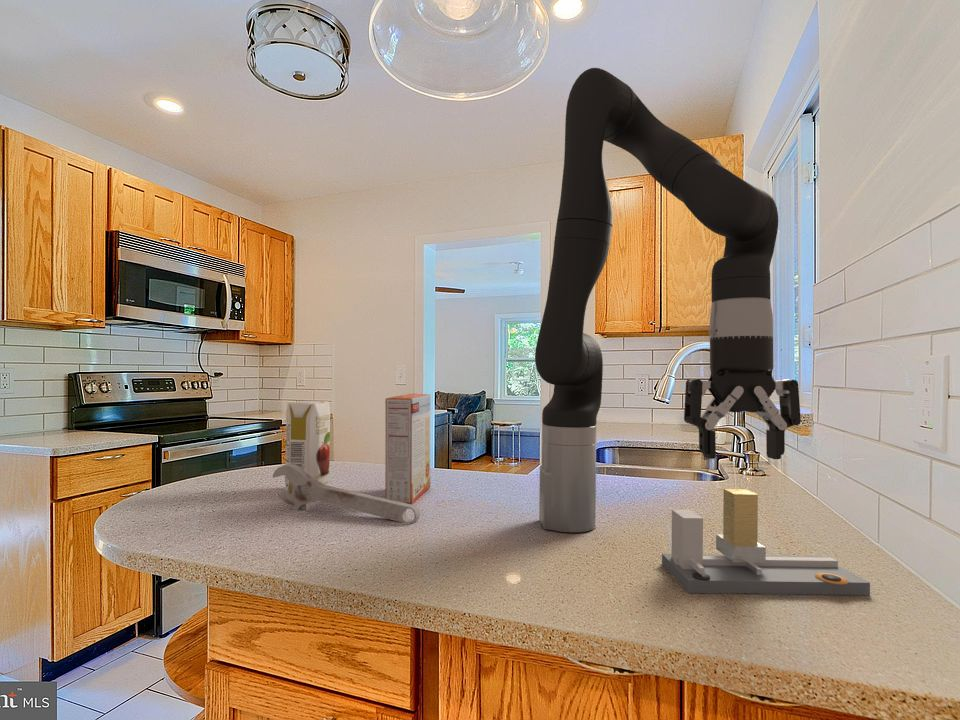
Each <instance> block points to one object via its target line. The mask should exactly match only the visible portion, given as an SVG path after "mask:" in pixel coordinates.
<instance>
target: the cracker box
mask: <svg viewBox="0 0 960 720" xmlns="http://www.w3.org/2000/svg"><path fill="white" fill-rule="evenodd" d="M384 401H385V402H384V405H385V406H384V407H385V408H384V409H385V414H384V415H385V417H384V418H385V425H384V426H385V436H384V437H385V438H384V439H385V445H384V447H385V449H384V451H385V455H384V456H385V457H384V459H385V461H384V462H385V463H384V464H385V469H384V470H385V473H384V474H385V476H384V478H385V479H384V480H385V481H384V483H385V484H384V485H385V493H384V495H385V496H384V498H385V499H389V500H394V501H398V502H402V503H407V504H412V505H414V503H415V502H416V501H417V500H418V499H419V498H420V497H421V496H423V495H424V494H425V493H426V492H427V491H428V490H429V489H430V488H431V394H428V393H427V394H426V393H425V394H424V393H423V394H422V393H407V394H401V395H396V396H390V397H387V398H385V400H384Z"/></svg>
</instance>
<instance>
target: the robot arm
mask: <svg viewBox="0 0 960 720" xmlns="http://www.w3.org/2000/svg"><path fill="white" fill-rule="evenodd" d="M566 102H567V103H566V109H565V110H566V111H565V126H564V127H565V128H564V157H563V158H564V159H563V170H562V180H561V190H560V199H559V207H558V212H557V218H556V219H557V220H556V225H555V234H554V241H553V253H552V259H551V266H550V273H549V274H550V275H549V280H548V282H549V283H548V287H547V288H548V289H547V294H546V295H547V296H546V301H545V308H544V312H543V316H542V320H541V324H540V328H539V332H538V336H537V341H536V345H535V351H534V352H535V353H534V361H535V368H536V371H537V373H538V374H539V376H540V377H541V379H542V380H543V381H545V382H546V383H548V384H550V385H553V392H552V393H553V394H552V397H551V399H550V400H549V401H548V403H547V404H546V405H545V406H544V407H543V409H542V414H541V419H542V420H541V465H539V497H538V498H539V501H538V504H539V506H538V507H539V508H538V510H539V511H538V519H539V521H540V524H541V526H542V529H543V530H550V531H551V530H552V531H556V532H563V533H585V532H589V531H592V530H594V529H595V528H596V517H597V513H596V507H597V506H596V502H597V500H596V499H597V497H596V496H597V493H596V492H597V480H596V479H597V420H598V419H597V417H598V413H599V411H600V408H601V406H602V405H601V404H602V393H603V392H602V391H603V373H604V371H603V370H604V367H603V366H604V364H603V363H604V362H603V361H604V360H603V359H604V358H603V353H602V350H601V347H600V344H599V342H597V340H596V339H595V338H594V337H592V336H591V335H589V334H587V333H584V325H585V317H586V316H585V315H586V310H587V305H588V301H589V298H590V296H591V293H592V291H593V289H594V287H595V285H596V283H597V281H598V279H599V277H600V275H601V273H602V271H603V269H604V267H605V265H606V261H607V259H608V256H609V251H610V246H611V238H612V231H613V224H614V210H613V203H612V200H611V194H610V191H609V190H610V189H609V186H608V181H607V179H606V174H605V169H604V159H603V158H604V157H603V156H604V155H603V154H604V151H603V149H604V142H607V143H609V144H611V145H613V146H616V147H617V148H620V149H622V150H623V151H626V152H628V153H629V154H630V155H632V156H633V157H634V158H635V159H636V160H638V161H639V163H640V164H641V165H642V166H643V168H644V169H645V170H646V171H647V173H648V174H649V175H650V176H651V177H652V179H654V180H655V181H656V182H657V183H658V184H659V185H660V186H662V187H663V188H664V189H665V190H667V191H668V192H669V193H670V194H671V195H672V196H673V197H675V198H676V199H677V200H679V201H680V202H682V203H683V204H684V205H685V207H686V208H687V209H688V211H689V212H691V214H692V215H693V216H694V217H695V218H696V219H697V220H698V221H699V223H701V224H702V225H703V226H704V227H706V228H707V229H708V230H709V231H711V232H712V233H715V234H717V235H718V236H722V237H724V238H725V239H724V240H725V242H724V244H725V245H724V251H723V257H722V258H719V259H718V260H716V261H715V262H714V264H713V266H712V270H711V279H710V281H711V282H710V283H711V285H710V286H711V304H710V305H711V307H710V314H709V315H710V316H709V327H708V334H709V370H710V371H709V372H710V375H709V379H708V380H701V379H699V378H688V379H687V380H686V381H685V391H684V392H685V395H684V411H683V412H684V413H683V421H684V423H686V424H688V425H691V426H694V427H696V428H697V429H698V449H699V452H700V453H701V454H702V456H703V458H706V459H709V460H715V459H716V457H717V456H716V455H717V454H716V450H717V449H716V445H717V444H716V430H714V428H715V427H716V425H718V424H719V421H721V419H722V418H725V416H726V415H727V414H728V413H741V412H747V413H756V414H757V415H758V416H759V417H760V418H761V419H762V420H763V421H764V423H765V424H766V425H767V427H768V429H765V430H766V431H765V433H766V435H765V436H766V440H765V441H766V456H767V458H769V459H772V460H781V458H782V455H784V453H785V451H786V449H785V448H786V447H785V446H786V445H785V442H786V441H785V440H786V439H785V438H786V437H785V436H786V435H785V433H786V432H785V431H786V430H787V429H788V428H790V427H793V426H796V427H797V426H799V425H800V424H801V421H802V420H801V419H802V418H801V417H802V416H801V405H800V391H799V382H798V380H796V379H791V378H790V379H789V378H785V379H784V378H783V379H780V380H774V377H773V370H774V316H773V315H774V314H773V309H772V302H771V298H772V297H771V262H772V258H773V256H774V252H775V246H776V240H777V237H778V236H777V235H778V229H779V212H778V207H777V203H776V201H775V199H774V198H773V197H772V195H771V194H769V193H768V192H766V191H765V190H764V189H763V190H762V189H761V188H759V187H756V186H755V185H754V184H751V183H749V182H747V181H746V180H744V179H742V178H741V177H739V176H738V175H736V174H735V173H733V172H731V171H730V170H728V169H727V168H725V167H724V166H723V164H722V163H721V161H720V160H718V159H717V158H716V156H714V155H712V154H711V153H709V151H707V150H706V149H704V148H703V147H702V146H700V145H698V144H697V143H696V142H695V141H693V140H691V139H690V138H688V137H686V136H685V135H683V134H682V133H679V132H678V131H676V130H674V129H672V128H671V127H669V126H667V125H666V124H664V123H663V122H662V121H661V120H659V119H658V117H656V116H655V115H654V114H653V113H652V112H651V111H650V109H649V108H648V107H647V106H646V105H645V104H644V102H643V101H642V100H641V99H640V97H639V96H638V95H637V94H636V93H635V92H634V90H633V88H631V87H630V86H629V85H628V84H627V83H625V82H624V81H622V80H621V79H619V77H617V76H615V75H613V74H612V73H610V72H609V71H607V70H605V69H603V68H599V67H591V68H588V69H586V70H584V71H583V72H582V73H580V74H579V75H578V76H577V78H576V80H575V81H574V82H573V84H572V86H571V89H570V92H569V95H568V99H567V101H566ZM707 391H709V393H710V394H711V395H712V396H713V398H712V399H711V401H710V402H709V403H708V404H707V406H706V407H705V409H704V412H703V414H702V401H703V400H702V399H703V397H704V396H705V395H706V393H707ZM774 392H775V393H776V395H777V396H778V398H779V400H778V401H779V408H777V406H776V404H774V402H773V401H772V400H771V399H770V397H771V396H772V394H773V393H774Z"/></svg>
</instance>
